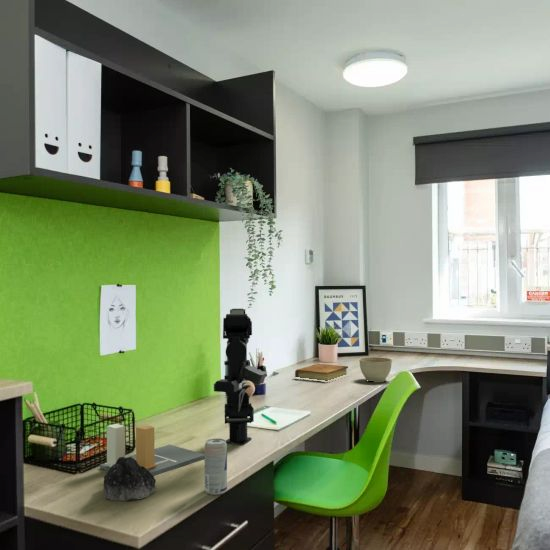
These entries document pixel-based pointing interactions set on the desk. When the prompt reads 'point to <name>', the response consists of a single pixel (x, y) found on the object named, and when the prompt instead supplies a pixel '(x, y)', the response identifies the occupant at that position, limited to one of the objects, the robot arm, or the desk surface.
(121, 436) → the cream fader
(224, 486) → the energy drink
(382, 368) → the planter bowl
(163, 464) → the grey marked board
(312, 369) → the diary
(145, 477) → the crystal cluster
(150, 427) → the block
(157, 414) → the desk surface
